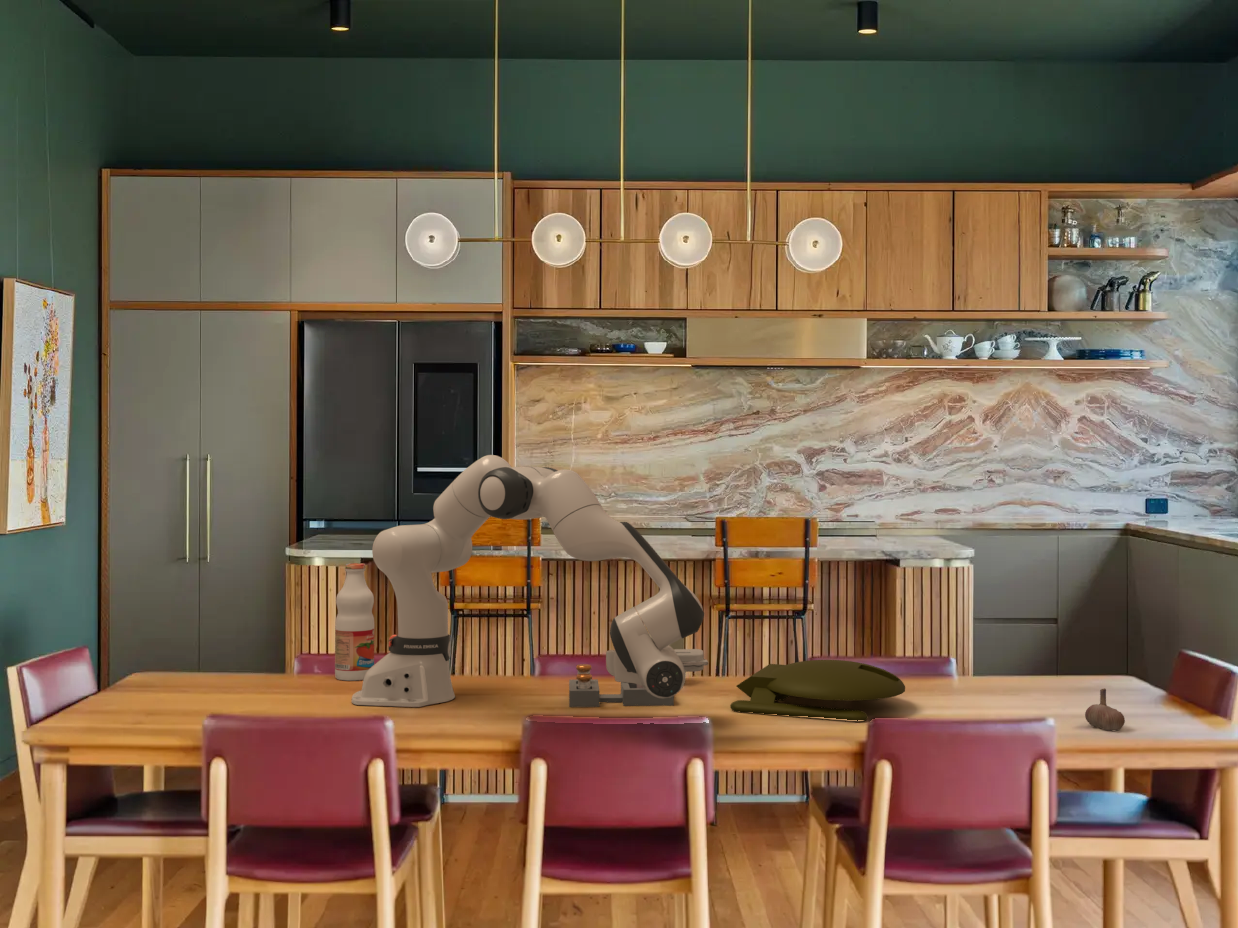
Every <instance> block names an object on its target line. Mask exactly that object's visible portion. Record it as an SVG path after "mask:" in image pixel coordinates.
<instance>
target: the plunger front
mask: <svg viewBox="0 0 1238 928" xmlns="http://www.w3.org/2000/svg"><path fill="white" fill-rule="evenodd" d="M591 679H593V675H592V674H591V673H590V674H578V673H577V674H576V680H578V689H591Z"/></svg>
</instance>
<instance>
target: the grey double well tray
mask: <svg viewBox="0 0 1238 928" xmlns="http://www.w3.org/2000/svg"><path fill="white" fill-rule="evenodd" d="M568 686H569V687H568V688H569V689H568V691H569V692H568V693H569V694H568V695H569V696H568V697H569V699H568V700H569V701H568V702H569V703H568V704H569V705H568V706H569V707H568V708H599V707H600V703H599V702H607V703H622V705H623V707H624V706H625V707H627V706H629V707H631V706H632V707H634V706H636V707H637V706H638V707H641V706H643V707H644V706H646V707H647V706H648V707H649V706H652V707H653V706H655V707H657V706H662V707H663V706H666V707H667V706H674V703H675V702H674V701H675V700H674V699H675V697H674V696H675V695H674V696H672V697H670V698H657V697H654V696H652V695H651V694H649V693H648V692H647V691H646V690H645V688H637V684H632V683H622V682H620V694H619V693H617V694H616V693H615V694H613V693H612V694H611V693H610V694H609V693H607V694H606V693H603V694H601V693H600V692H601V691H600V686H599V679H593V678H592V679H591V689H578V679H569V681H568Z"/></svg>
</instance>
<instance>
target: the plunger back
mask: <svg viewBox="0 0 1238 928" xmlns="http://www.w3.org/2000/svg"><path fill="white" fill-rule="evenodd" d="M575 668H576V669H575V670H576V671H577V674H591V670H592V665H591V664H587V663H585V664H584V663H581V664H577V665H576V667H575Z"/></svg>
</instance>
